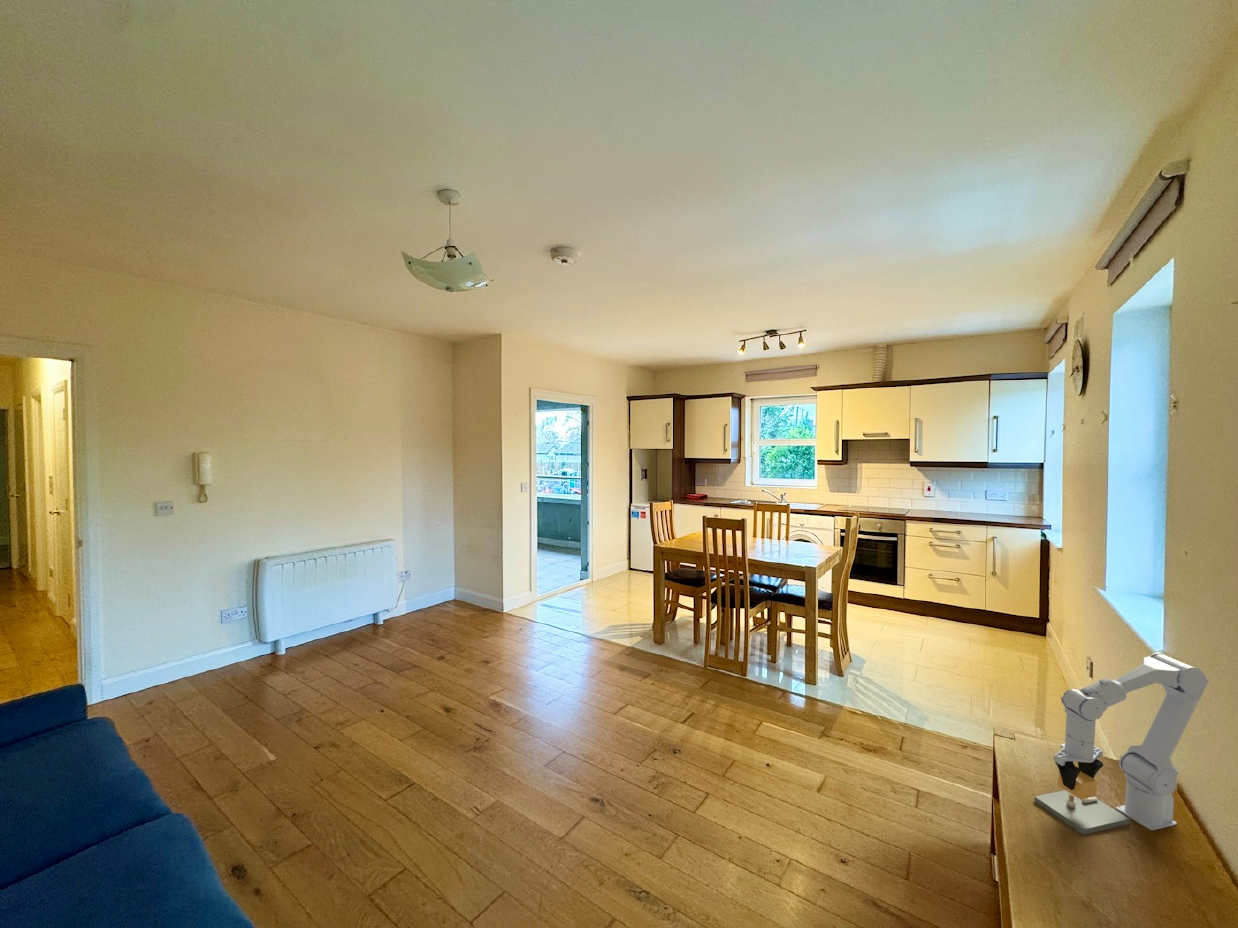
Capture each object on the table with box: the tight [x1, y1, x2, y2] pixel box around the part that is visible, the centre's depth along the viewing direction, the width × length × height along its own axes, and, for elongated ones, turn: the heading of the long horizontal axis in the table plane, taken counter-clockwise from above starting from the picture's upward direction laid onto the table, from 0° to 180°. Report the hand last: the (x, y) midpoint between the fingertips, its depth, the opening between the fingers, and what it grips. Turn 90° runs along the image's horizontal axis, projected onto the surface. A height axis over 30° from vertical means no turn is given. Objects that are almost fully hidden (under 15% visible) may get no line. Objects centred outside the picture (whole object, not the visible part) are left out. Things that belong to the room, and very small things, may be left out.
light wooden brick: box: [1057, 770, 1098, 800], centre depth 135 cm, size 5×5×4 cm
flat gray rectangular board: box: [1034, 789, 1130, 836], centre depth 136 cm, size 16×12×4 cm
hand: (1076, 785), depth 135 cm, fingers closed on light wooden brick, 5 cm apart
